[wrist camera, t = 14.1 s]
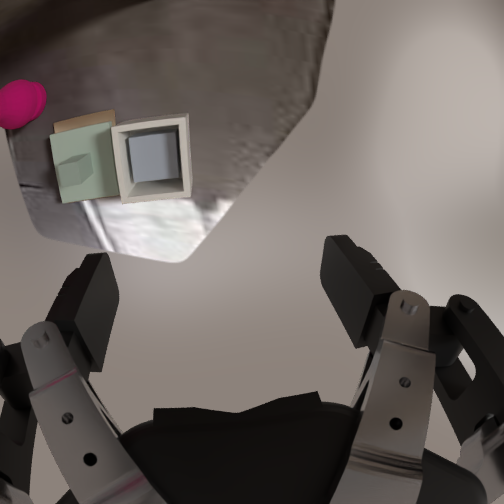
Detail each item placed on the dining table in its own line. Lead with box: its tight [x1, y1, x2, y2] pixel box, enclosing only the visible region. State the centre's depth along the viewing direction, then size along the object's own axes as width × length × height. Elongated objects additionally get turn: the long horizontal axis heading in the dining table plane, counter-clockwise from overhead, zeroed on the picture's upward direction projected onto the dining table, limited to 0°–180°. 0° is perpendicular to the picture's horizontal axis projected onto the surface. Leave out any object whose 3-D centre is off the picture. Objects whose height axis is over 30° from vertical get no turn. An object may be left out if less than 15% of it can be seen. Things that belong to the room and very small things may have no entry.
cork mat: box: [54, 109, 120, 203], centre depth 37 cm, size 13×10×1 cm
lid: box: [50, 121, 120, 203], centre depth 34 cm, size 11×10×7 cm
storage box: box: [111, 113, 192, 204], centre depth 36 cm, size 10×9×7 cm
